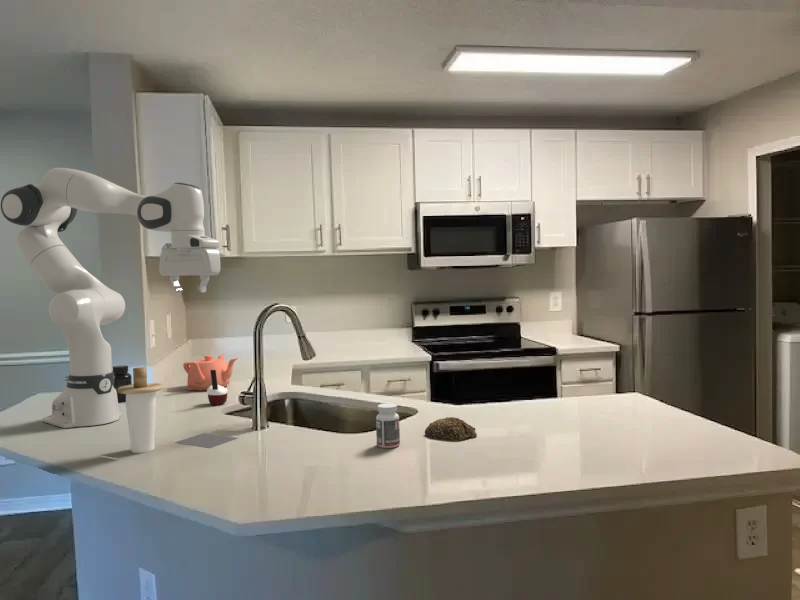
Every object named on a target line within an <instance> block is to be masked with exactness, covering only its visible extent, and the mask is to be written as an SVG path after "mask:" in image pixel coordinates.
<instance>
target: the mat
mask: <svg viewBox="0 0 800 600" xmlns="http://www.w3.org/2000/svg"><path fill="white" fill-rule="evenodd" d="M237 439H239V437H234V436H227V435H226V436H225V435H220V434H212V433H206V432H203V433H201V434H197V435H194V436H191V437H188V438H183V439H181V440H178V441H175V442H174V443H175V444H179V445H180V444H181V445H186V446H194V447H199V448H200V447H201V448H207V449H212V448H214V447H218V446H220V445H223V444H226V443H230V442H232V441H235V440H237Z"/></svg>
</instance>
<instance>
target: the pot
mask: <svg viewBox="0 0 800 600" xmlns="http://www.w3.org/2000/svg"><path fill="white" fill-rule="evenodd" d="M224 356H225V353H221V354H219V355H218V358H213V357H214V356H213V355H212V354H211V355H210V354H207V355H204V356H203V357H204V358H201V359H196V360H194V361H186V362H184V363H183V364H182V365H183V369H184V371H185V372H186V374H187V381H186V382H187V388H188V389H189V391H207V389H208V388H209V387H210V386H211V385H212V380H211V370H216V377H217V385H220V386H222V387H223V386H225V385H227V384H228V385H229V384H230V381H231V377H232V375H233V368H234V367H233V366H234V363H235V362H236V361H237V360H238V359H239V357H237V358H231V359H230V360H229V361H228V362H227V359H226V358H224Z"/></svg>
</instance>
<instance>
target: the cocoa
mask: <svg viewBox="0 0 800 600" xmlns="http://www.w3.org/2000/svg"><path fill="white" fill-rule="evenodd" d="M211 380H212V385H211V386H210V387H209V388H208V389H207V390H206V393H207V400H208V401H209V404H210V405H212V406H222V404H223V405H224V404H225V403H226V402H227V399H228V391H229V390H228V388H226V387H222V386H220V385H217V377H216V370H211Z"/></svg>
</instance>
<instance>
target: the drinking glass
mask: <svg viewBox="0 0 800 600" xmlns="http://www.w3.org/2000/svg"><path fill="white" fill-rule="evenodd" d="M125 408H126V409H125V410H126V419H127V425H128V434H129V441H130V442H129V443H130V452H131V453H134V454H143V453H149V452H152V451H154V450H155V444H156V443H155V439H156V438H155V436H156V435H155V433H156V418H157V391H156V392H150V393H142V394H126V402H125Z"/></svg>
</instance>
